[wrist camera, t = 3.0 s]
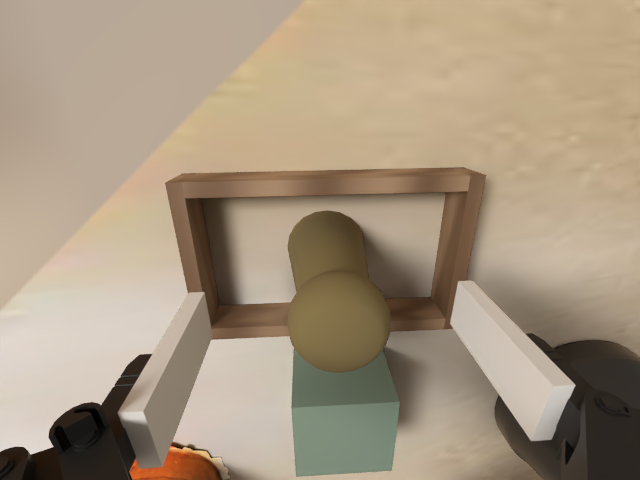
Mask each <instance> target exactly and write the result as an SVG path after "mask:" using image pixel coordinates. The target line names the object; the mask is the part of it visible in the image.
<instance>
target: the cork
mask: <svg viewBox="0 0 640 480" xmlns="http://www.w3.org/2000/svg"><path fill="white" fill-rule="evenodd" d="M288 252H289V257H290V262H291V267H292V272H293V276H294V281H295V286H296V291H297V293H296V295H295V297H294V298H293V300H292V302H291V304H290V309H289V315H288V323H287V326H288V330H289V335H290V339H291V342H292V345H293V346H294V348H295V349H296V351H297V352H298V354H299V355H300V356H301V357H302V358H303V359H304V360H305V361H306V362H308V363H309V364H310V365H312V366H313V367H315V368H318V369H320V370H323V371H326V372H335V373H343V372H350V371H354V370H357V369H359V368H362V367H364V366H366V365H368V364H369V363H370V362H372V361H373V360H374V359H376V358H377V356H378V355H379V354H380V353H381V351H382V350H383V349H384V347H385V345H386V343H387V340H388V337H389V334H390V331H391V329H390V310H389V308H388V306H387V304H386V301H385V299H384V297H383V295H382V293H381V291H380V290H379V289H378V288H377V287H376V286H375V285H374V284H373V283H371V282H370V281H369V275H368V268H367V260H366V253H365V246H364V238H363V235H362V233H361V230H360V228H359V226H358V225H357V224H356V223H355V222H354V221H353V220H352V219H351V218H350V217H348V216H346V215H344V214H342V213H340V212H333V211H321V212H315V213H313V214H310V215H308V216H306V217H304V218H303V219H302V220H301V221H300V222H299V223H298V224H296V225H295V227H294V229H293V230H292V232H291V234H290V236H289V242H288Z"/></svg>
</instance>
